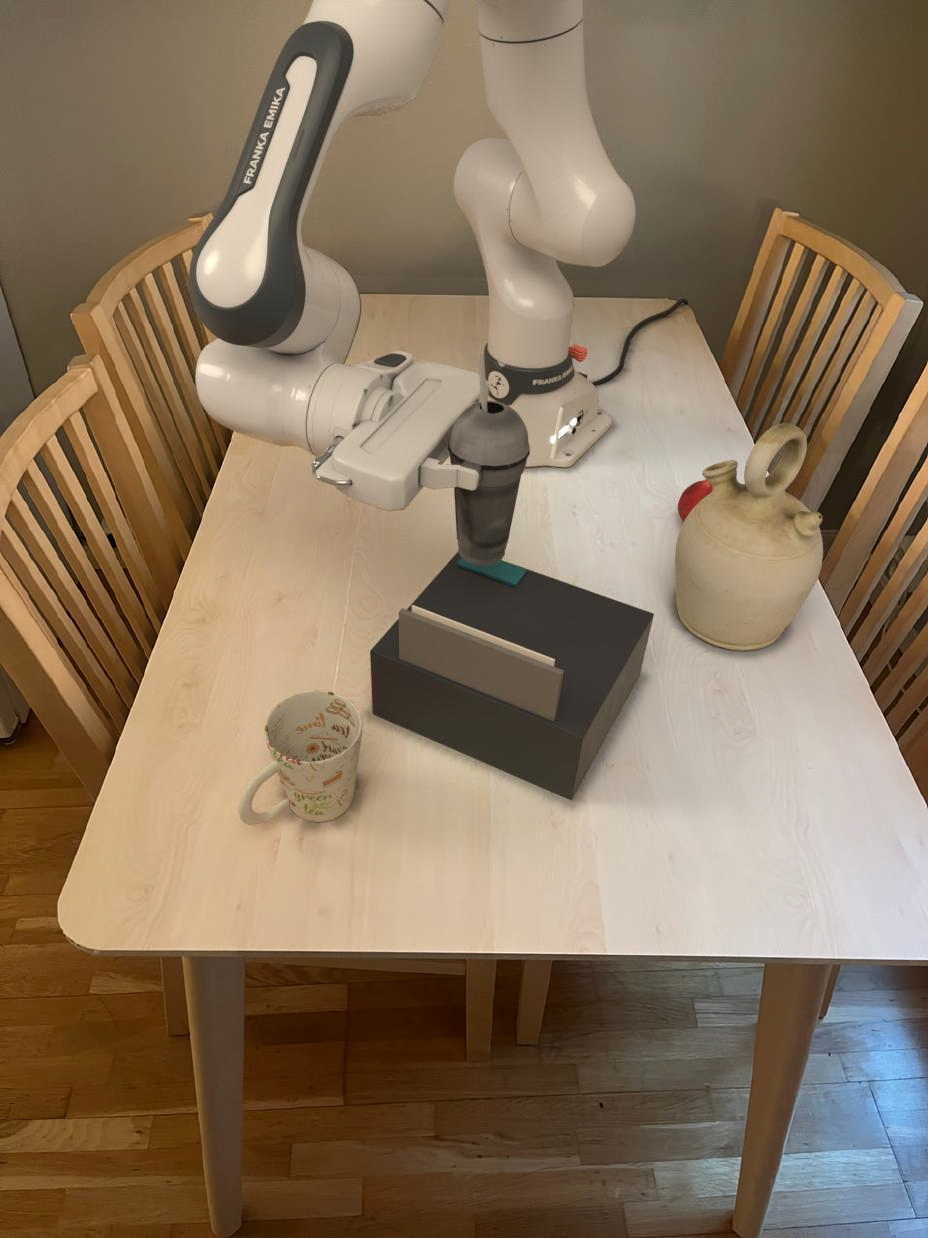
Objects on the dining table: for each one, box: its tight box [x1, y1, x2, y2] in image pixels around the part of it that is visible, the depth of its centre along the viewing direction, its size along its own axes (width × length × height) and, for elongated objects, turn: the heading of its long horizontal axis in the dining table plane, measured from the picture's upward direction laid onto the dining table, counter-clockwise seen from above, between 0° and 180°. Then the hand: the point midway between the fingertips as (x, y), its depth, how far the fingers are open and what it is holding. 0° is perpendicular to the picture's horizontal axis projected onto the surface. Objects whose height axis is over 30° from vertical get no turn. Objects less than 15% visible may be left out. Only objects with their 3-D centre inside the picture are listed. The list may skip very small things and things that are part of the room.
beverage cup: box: [448, 354, 530, 566], centre depth 82 cm, size 7×7×20 cm
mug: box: [238, 689, 363, 826], centre depth 82 cm, size 8×13×10 cm, turn 138°
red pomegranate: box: [677, 478, 713, 523], centre depth 118 cm, size 6×6×8 cm
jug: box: [674, 422, 824, 652], centre depth 99 cm, size 15×16×25 cm
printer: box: [369, 551, 655, 801], centre depth 92 cm, size 19×22×16 cm
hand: (498, 454), depth 82 cm, fingers closed on beverage cup, 7 cm apart
